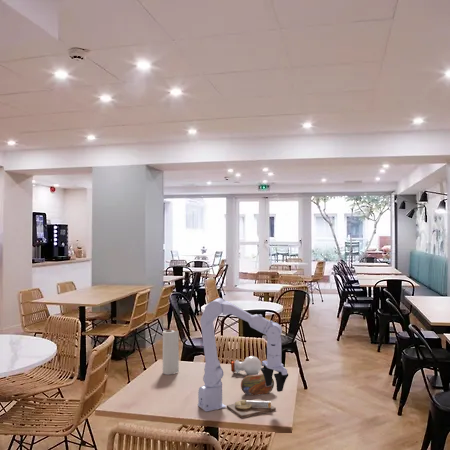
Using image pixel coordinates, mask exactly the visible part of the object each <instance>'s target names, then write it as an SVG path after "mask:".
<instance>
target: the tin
mask: <svg viewBox="0 0 450 450" xmlns="http://www.w3.org/2000/svg"><path fill="white" fill-rule="evenodd" d="M274 387H275V382H274V378H273V377H272V384H271V385H270V386H266V382H265V378H264V375H263V373H258V374H256V375H248V374H247V375H245V376H244V377H243V378H242V379H241V382H240V389H241V391H242V392H243V394H245V395H247V396H251V397H252V396H259V395H268V394H269V393H270V392H272V391H273V389H274Z"/></svg>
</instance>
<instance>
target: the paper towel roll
mask: <svg viewBox="0 0 450 450" xmlns="http://www.w3.org/2000/svg"><path fill="white" fill-rule="evenodd" d="M179 334H180V333H179V330H176V331H175V330H173V329H166V330H163V331H162V373H163V375H174V374H176V373H178V372H179V369H180V368H179V367H180V366H179V365H180V364H179V359H180V358H179V356H180V355H179V352H180V351H179V346H180V345H179V342H180V340H179V338H180V337H179Z"/></svg>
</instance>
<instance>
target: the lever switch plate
mask: <svg viewBox="0 0 450 450" xmlns="http://www.w3.org/2000/svg"><path fill="white" fill-rule="evenodd" d="M251 401H264V400H262V399H261V398H256V399H251ZM226 408H227V410H229V411H231V412H232V413H234V414H235V415H237V416H238V417H240V418H241V419H245V418H248V417H253V416H258V415H262V413H263V414H266V412H267V413H271V412H275V410H276V411H277V408H276V407H275V406H273V405H272V404H271V408H261V407H252V408H251V409H249V410H239V409H236V408H235V403H232V404H226Z"/></svg>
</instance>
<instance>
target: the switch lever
mask: <svg viewBox="0 0 450 450" xmlns="http://www.w3.org/2000/svg"><path fill="white" fill-rule="evenodd" d="M251 400H252V399H251ZM251 400H249V399H248V400H246V399H241V400H237V401H236V402H234V404H235V408H236V409H239V410H249V409H251V408H252V407H261V408H271V405H272V404H271V403H272V401H271V400H263V401H251Z"/></svg>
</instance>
